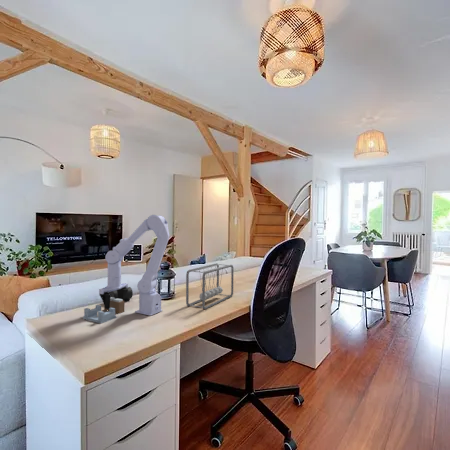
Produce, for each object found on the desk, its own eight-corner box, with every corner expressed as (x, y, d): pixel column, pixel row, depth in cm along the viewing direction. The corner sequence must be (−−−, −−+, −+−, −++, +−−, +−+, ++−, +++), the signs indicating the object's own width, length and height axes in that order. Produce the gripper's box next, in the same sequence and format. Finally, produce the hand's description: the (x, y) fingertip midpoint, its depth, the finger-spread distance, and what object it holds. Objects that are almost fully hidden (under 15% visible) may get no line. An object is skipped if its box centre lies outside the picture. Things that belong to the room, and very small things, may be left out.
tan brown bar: (124, 312, 126) (124, 299, 126) (119, 313, 124) (119, 300, 124) (109, 308, 131) (109, 296, 131) (104, 310, 128) (104, 297, 128)
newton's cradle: (217, 293, 160) (217, 262, 160) (233, 296, 155) (233, 264, 155) (185, 307, 134) (185, 270, 134) (203, 310, 129) (204, 272, 129)
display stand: (116, 317, 118) (116, 308, 118) (100, 323, 111) (101, 313, 111) (98, 313, 123) (98, 304, 123) (83, 319, 116) (83, 308, 116)
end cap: (114, 304, 137) (114, 291, 137) (107, 302, 142) (107, 288, 142) (132, 300, 144) (132, 287, 144) (126, 298, 149) (126, 285, 149)
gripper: (120, 273, 136) (120, 301, 136) (94, 278, 123) (94, 309, 123) (131, 274, 132) (131, 303, 132) (105, 280, 119) (105, 311, 119)
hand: (114, 306), depth 127 cm, fingers open, 7 cm apart
